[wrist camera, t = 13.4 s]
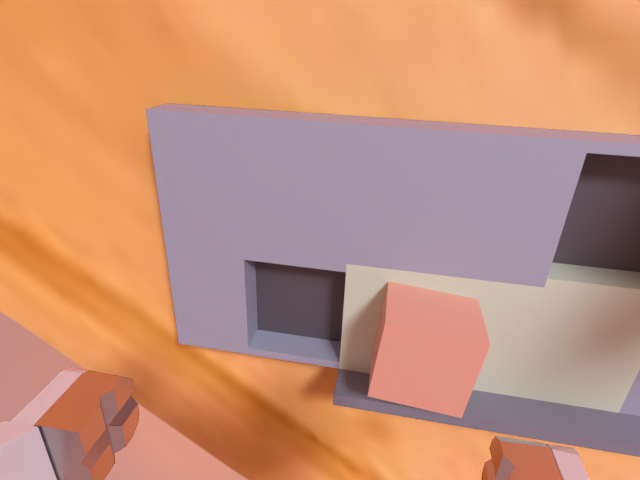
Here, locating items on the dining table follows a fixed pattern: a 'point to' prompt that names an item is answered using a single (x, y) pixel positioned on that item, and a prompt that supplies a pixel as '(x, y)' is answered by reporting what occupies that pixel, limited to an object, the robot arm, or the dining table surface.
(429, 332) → the block
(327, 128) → the board
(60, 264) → the dining table surface
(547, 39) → the dining table surface
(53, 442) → the robot arm
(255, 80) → the dining table surface
